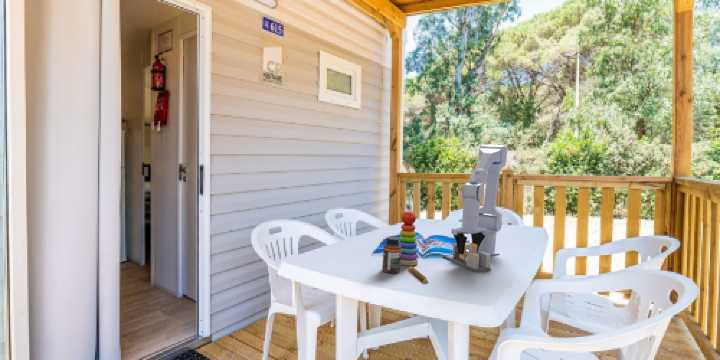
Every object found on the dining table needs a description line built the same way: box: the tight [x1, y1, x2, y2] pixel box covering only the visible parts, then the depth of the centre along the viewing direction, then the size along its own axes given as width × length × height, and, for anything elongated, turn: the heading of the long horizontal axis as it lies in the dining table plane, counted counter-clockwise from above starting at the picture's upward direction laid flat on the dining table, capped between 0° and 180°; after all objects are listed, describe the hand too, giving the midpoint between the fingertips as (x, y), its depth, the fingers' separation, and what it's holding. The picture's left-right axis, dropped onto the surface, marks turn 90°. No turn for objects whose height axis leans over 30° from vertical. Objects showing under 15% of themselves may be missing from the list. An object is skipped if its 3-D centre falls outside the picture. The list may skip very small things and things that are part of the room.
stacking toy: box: [398, 210, 419, 267], centre depth 140 cm, size 8×8×19 cm
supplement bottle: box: [382, 236, 401, 274], centre depth 130 cm, size 6×6×11 cm
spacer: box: [459, 242, 478, 260], centre depth 143 cm, size 3×5×6 cm, turn 112°
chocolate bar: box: [407, 265, 429, 284], centre depth 126 cm, size 3×12×2 cm, turn 16°
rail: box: [443, 252, 492, 273], centre depth 144 cm, size 18×7×6 cm, turn 23°
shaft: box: [452, 243, 481, 261], centre depth 144 cm, size 12×5×5 cm, turn 23°
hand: (467, 253), depth 143 cm, fingers closed on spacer, 5 cm apart
